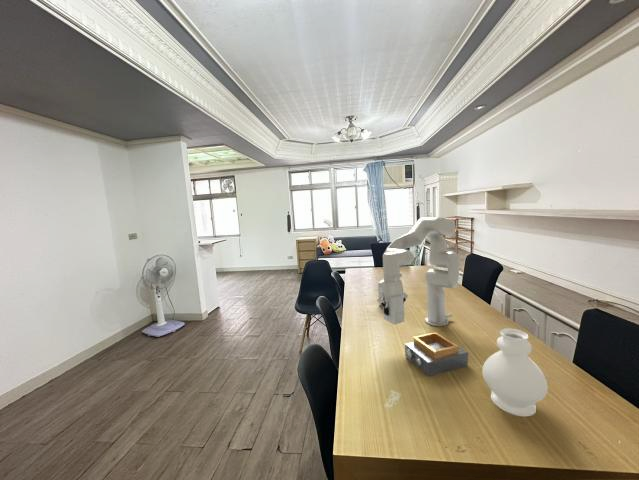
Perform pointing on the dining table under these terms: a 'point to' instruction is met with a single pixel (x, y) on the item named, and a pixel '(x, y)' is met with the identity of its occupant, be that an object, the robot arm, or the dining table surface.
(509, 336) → the decorative vase
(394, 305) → the small box
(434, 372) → the frame
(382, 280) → the supplement box
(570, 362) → the dining table surface
